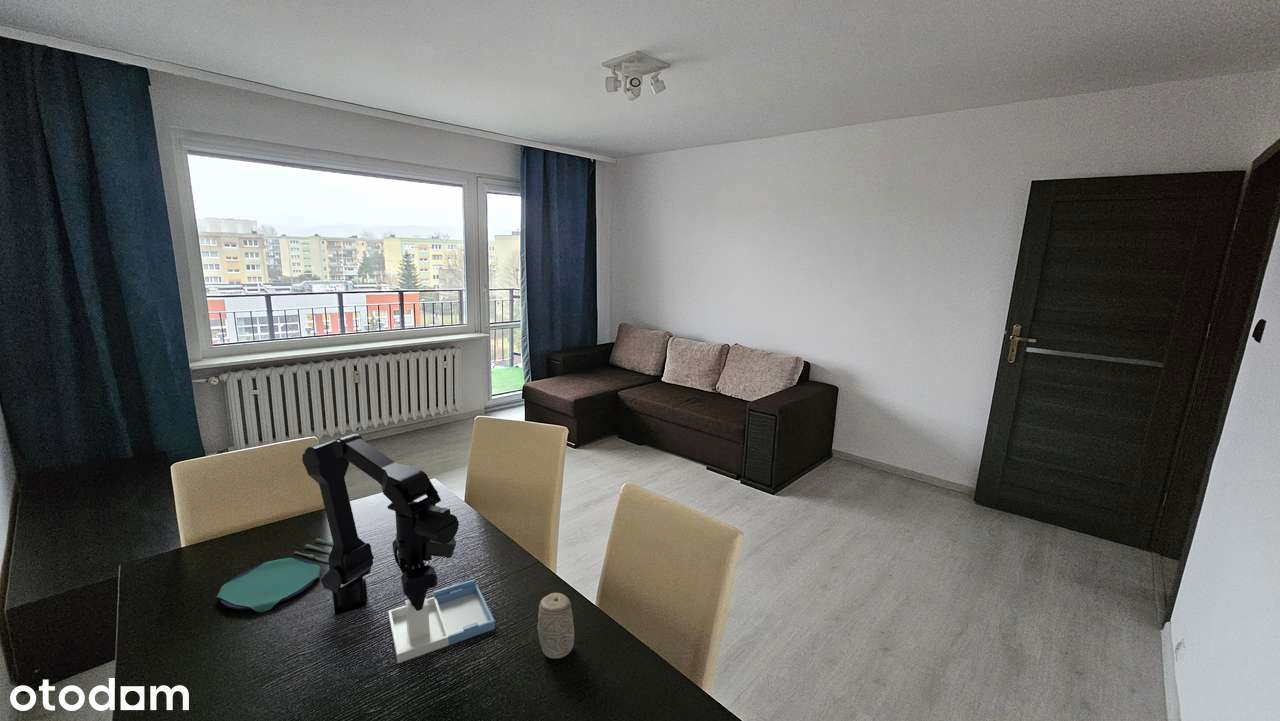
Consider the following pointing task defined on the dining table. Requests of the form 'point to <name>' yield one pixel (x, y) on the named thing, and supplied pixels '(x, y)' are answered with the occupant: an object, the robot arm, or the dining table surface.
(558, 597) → the carving
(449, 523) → the robot arm
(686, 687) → the dining table surface
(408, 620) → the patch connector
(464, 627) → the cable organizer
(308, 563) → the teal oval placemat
